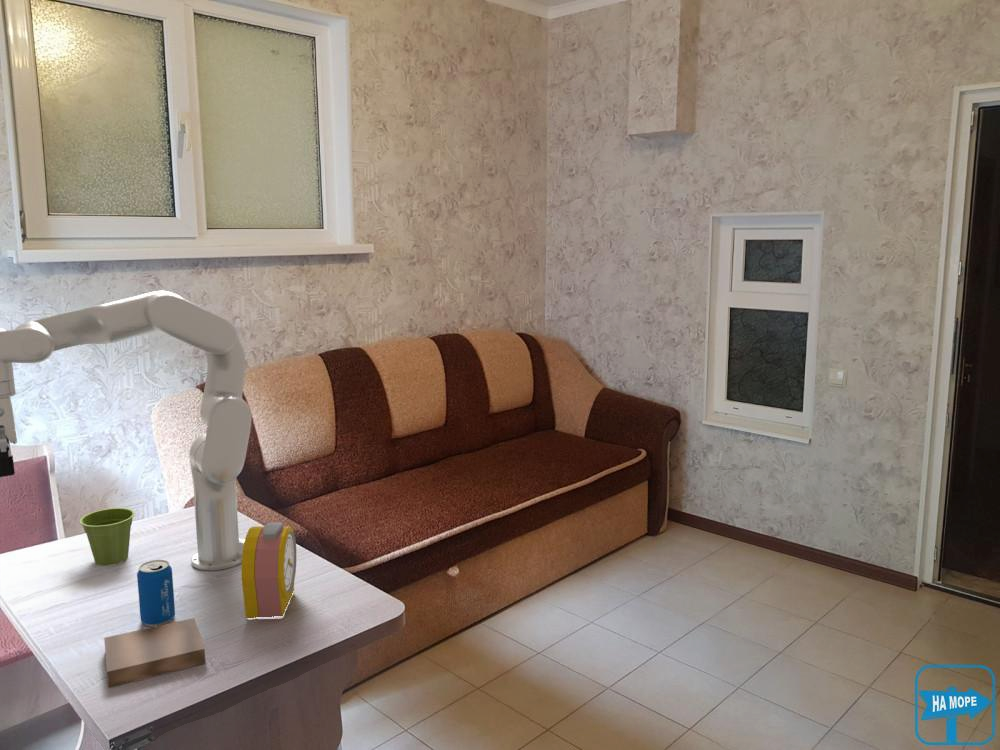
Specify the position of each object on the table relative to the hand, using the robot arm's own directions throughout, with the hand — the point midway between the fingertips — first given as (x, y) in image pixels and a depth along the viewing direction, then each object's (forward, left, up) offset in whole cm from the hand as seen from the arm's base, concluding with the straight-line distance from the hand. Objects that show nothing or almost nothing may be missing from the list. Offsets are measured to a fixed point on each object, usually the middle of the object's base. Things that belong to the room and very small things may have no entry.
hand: (2, 470), depth 157 cm
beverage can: (-26, +22, -30) cm, 45 cm away
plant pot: (-19, -15, -30) cm, 38 cm away
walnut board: (-24, +37, -30) cm, 53 cm away
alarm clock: (-48, +27, -30) cm, 62 cm away
